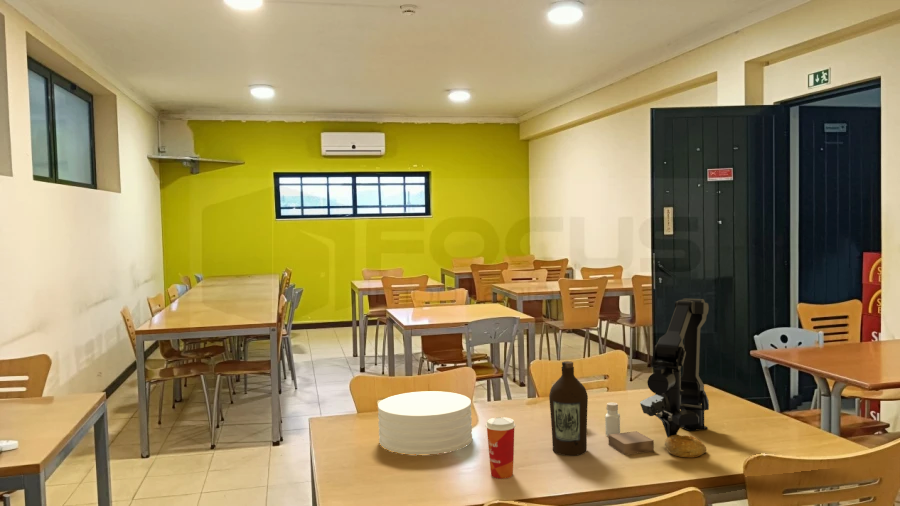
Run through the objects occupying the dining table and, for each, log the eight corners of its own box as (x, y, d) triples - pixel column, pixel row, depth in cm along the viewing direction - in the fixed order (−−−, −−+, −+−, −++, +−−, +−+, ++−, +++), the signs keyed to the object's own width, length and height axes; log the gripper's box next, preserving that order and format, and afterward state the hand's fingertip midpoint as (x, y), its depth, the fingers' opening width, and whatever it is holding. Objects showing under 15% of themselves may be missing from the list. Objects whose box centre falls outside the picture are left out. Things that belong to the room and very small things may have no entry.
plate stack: (491, 437, 203) (490, 400, 203) (425, 463, 183) (424, 421, 183) (425, 421, 223) (424, 387, 222) (359, 442, 202) (358, 405, 202)
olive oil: (553, 443, 196) (551, 358, 195) (590, 445, 193) (588, 359, 192) (547, 455, 186) (545, 365, 185) (586, 458, 182) (584, 366, 182)
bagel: (712, 458, 179) (711, 440, 179) (670, 459, 180) (670, 441, 180) (699, 446, 189) (699, 429, 189) (660, 447, 190) (659, 430, 190)
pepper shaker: (620, 433, 203) (619, 402, 202) (619, 437, 199) (618, 405, 199) (606, 432, 204) (606, 401, 204) (605, 436, 200) (604, 405, 200)
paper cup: (485, 470, 176) (483, 417, 175) (514, 468, 176) (512, 415, 176) (489, 481, 168) (487, 426, 167) (519, 479, 169) (518, 424, 168)
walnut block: (636, 441, 195) (636, 431, 195) (653, 451, 187) (653, 440, 186) (608, 444, 193) (608, 434, 193) (624, 454, 184) (624, 444, 184)
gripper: (627, 381, 196) (628, 434, 197) (663, 396, 178) (663, 455, 179) (661, 378, 199) (662, 430, 200) (699, 393, 181) (700, 450, 181)
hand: (670, 440), depth 190 cm, fingers closed
